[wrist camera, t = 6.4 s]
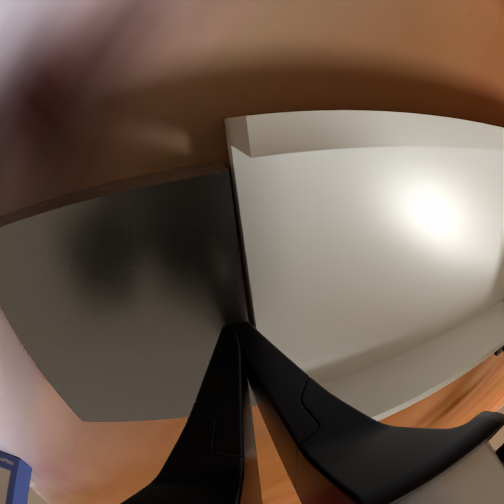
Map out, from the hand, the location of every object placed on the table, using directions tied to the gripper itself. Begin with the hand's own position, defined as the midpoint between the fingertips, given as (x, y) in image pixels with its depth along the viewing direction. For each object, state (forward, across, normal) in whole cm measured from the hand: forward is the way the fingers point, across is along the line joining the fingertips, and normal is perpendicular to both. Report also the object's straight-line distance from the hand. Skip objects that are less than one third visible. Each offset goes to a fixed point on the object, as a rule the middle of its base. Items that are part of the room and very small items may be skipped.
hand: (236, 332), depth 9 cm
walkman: (+2, +30, +18) cm, 35 cm away
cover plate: (+3, +4, 0) cm, 5 cm away
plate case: (+2, -11, 0) cm, 11 cm away
